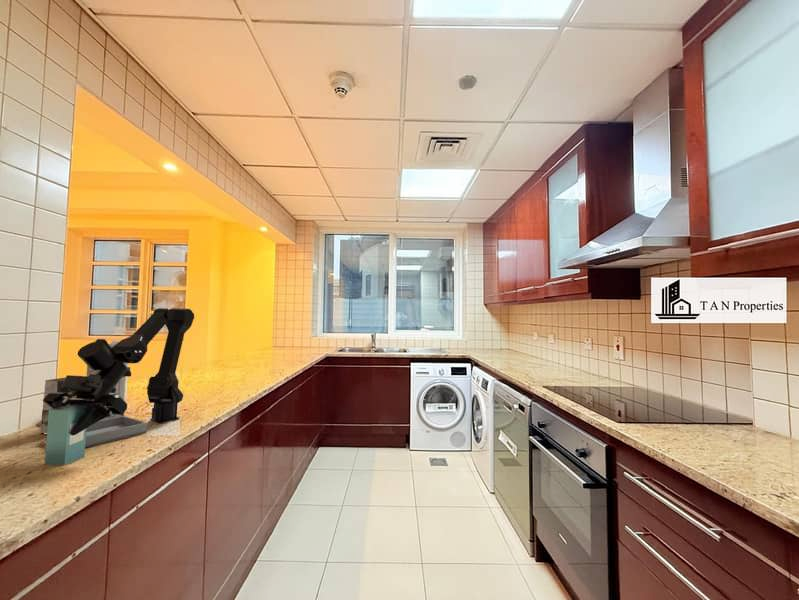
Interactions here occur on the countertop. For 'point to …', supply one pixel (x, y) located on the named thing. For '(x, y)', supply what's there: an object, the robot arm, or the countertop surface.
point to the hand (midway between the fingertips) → (61, 434)
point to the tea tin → (64, 435)
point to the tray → (113, 430)
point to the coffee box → (51, 387)
